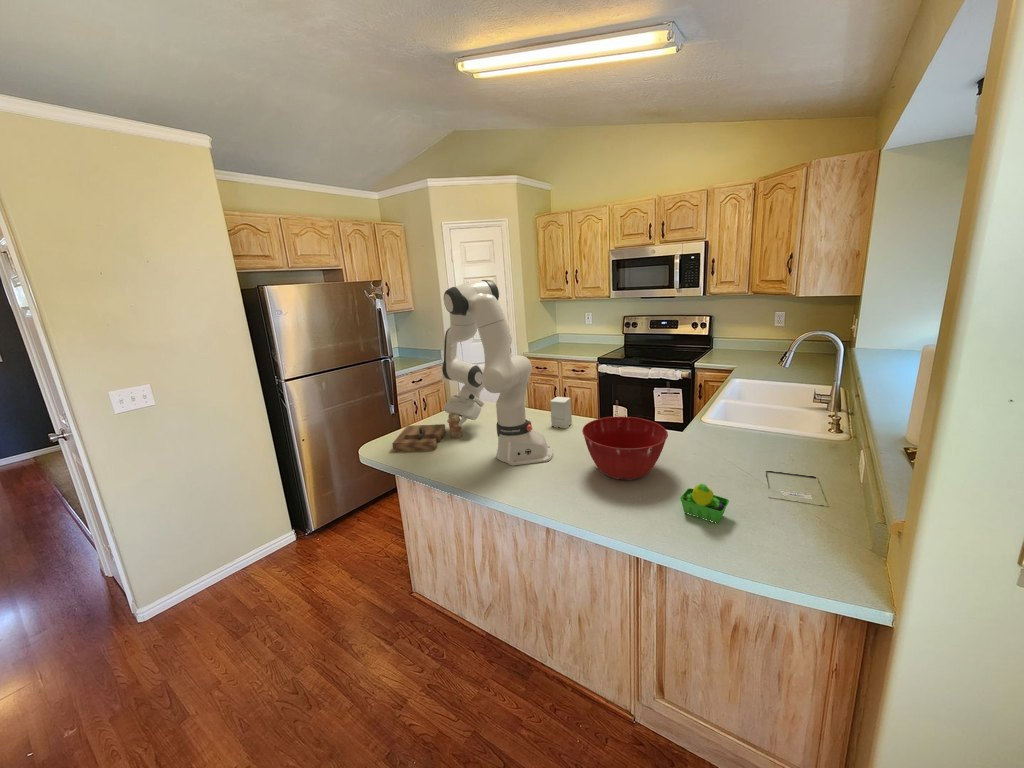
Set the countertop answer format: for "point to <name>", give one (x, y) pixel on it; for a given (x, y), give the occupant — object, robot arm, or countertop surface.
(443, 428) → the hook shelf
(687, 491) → the fruit basket
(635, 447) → the mixing bowl
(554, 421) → the supplement box
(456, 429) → the cord spool
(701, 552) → the countertop surface
